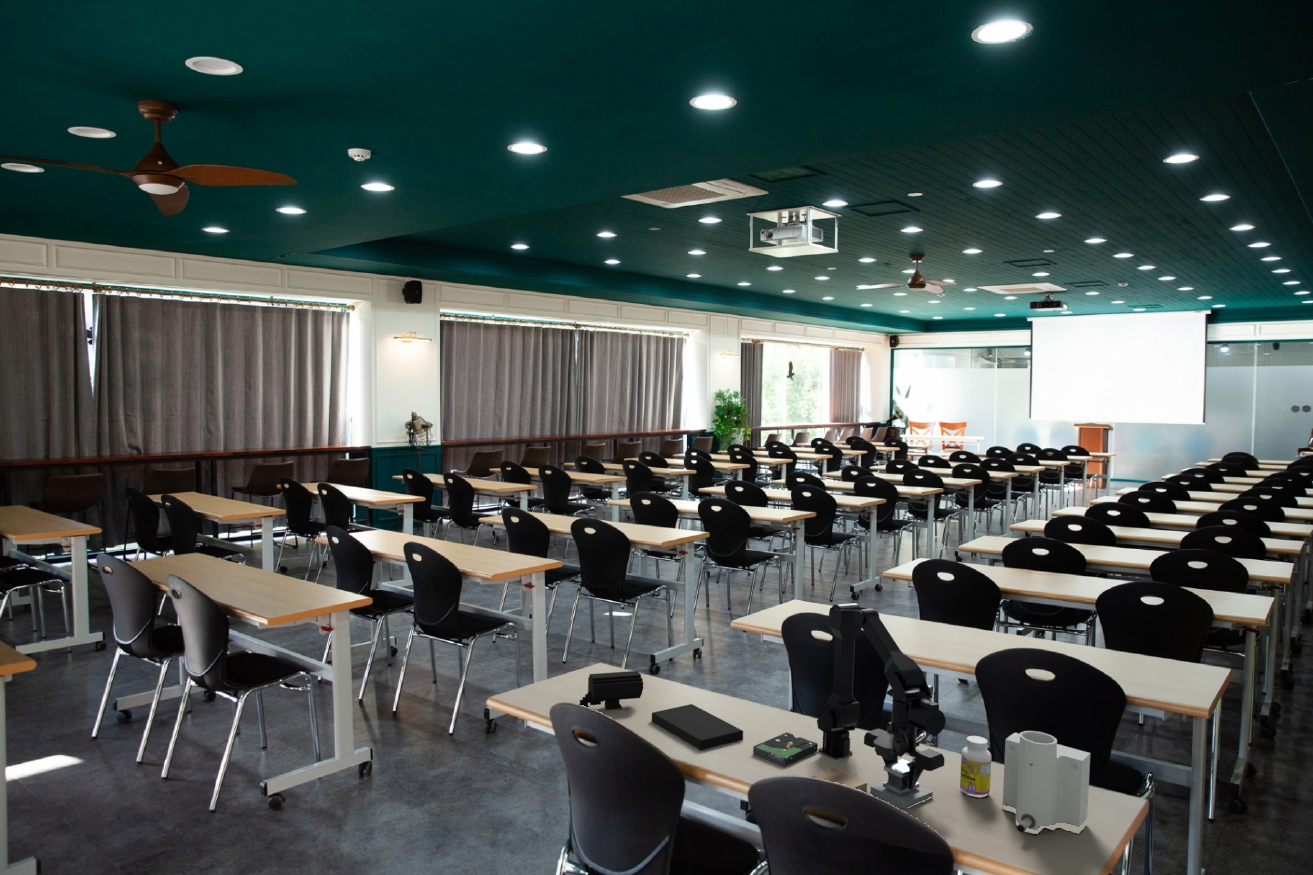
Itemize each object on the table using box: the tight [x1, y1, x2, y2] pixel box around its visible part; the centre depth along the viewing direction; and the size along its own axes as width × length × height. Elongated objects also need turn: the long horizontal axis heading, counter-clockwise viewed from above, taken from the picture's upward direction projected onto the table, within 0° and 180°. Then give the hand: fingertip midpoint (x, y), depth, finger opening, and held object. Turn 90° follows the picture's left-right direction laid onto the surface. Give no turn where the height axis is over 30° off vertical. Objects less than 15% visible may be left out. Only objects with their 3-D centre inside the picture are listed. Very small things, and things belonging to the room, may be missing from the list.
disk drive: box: [752, 731, 819, 768], centre depth 222 cm, size 10×3×15 cm
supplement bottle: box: [959, 735, 992, 795], centre depth 201 cm, size 7×7×13 cm
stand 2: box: [869, 779, 934, 810], centre depth 199 cm, size 10×10×2 cm
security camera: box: [578, 670, 644, 711], centre depth 250 cm, size 7×18×10 cm, turn 107°
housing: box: [883, 758, 920, 795], centre depth 199 cm, size 7×5×5 cm
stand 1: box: [811, 767, 868, 792], centre depth 202 cm, size 10×8×2 cm
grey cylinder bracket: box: [1002, 730, 1091, 834], centre depth 185 cm, size 16×19×20 cm
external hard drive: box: [651, 703, 744, 751], centre depth 235 cm, size 14×23×3 cm, turn 34°
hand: (901, 785), depth 199 cm, fingers closed on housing, 5 cm apart
